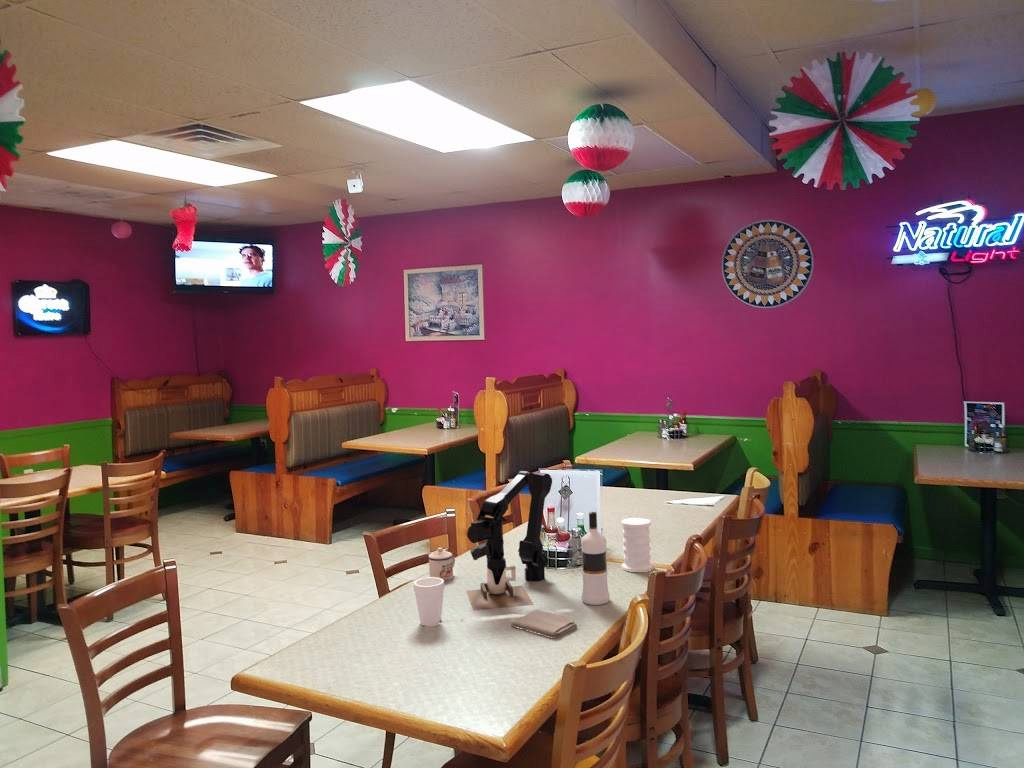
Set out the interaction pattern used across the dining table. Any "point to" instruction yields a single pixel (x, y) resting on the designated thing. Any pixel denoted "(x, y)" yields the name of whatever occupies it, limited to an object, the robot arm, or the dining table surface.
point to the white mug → (502, 584)
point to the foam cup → (429, 599)
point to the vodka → (594, 565)
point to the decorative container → (636, 545)
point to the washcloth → (545, 623)
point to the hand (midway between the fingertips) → (496, 581)
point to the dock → (498, 597)
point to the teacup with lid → (441, 564)
